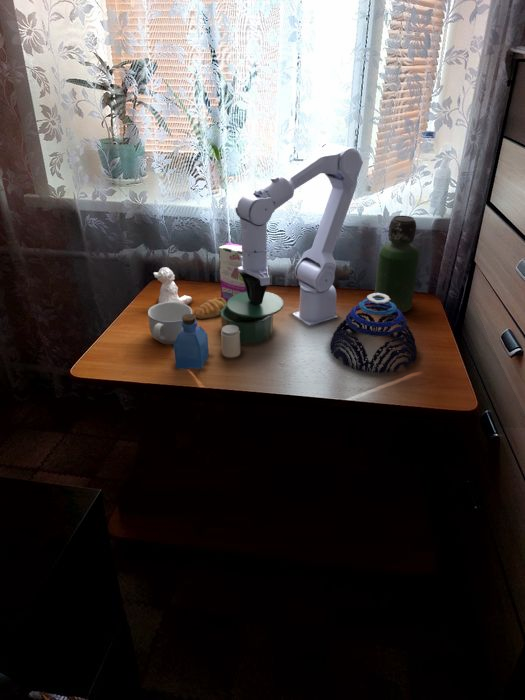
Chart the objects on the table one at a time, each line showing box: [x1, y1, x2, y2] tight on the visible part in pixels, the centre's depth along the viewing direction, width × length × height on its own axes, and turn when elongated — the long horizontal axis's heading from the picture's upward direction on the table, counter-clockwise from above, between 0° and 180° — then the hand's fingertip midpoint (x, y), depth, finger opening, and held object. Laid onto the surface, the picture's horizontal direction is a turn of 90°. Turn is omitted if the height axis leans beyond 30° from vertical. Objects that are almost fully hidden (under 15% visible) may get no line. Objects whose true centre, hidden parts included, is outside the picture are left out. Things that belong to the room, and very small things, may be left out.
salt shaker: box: [220, 325, 241, 358], centre depth 127 cm, size 4×4×7 cm
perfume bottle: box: [173, 313, 210, 371], centre depth 123 cm, size 6×6×12 cm
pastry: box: [193, 296, 227, 320], centre depth 146 cm, size 9×7×4 cm
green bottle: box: [373, 215, 420, 314], centre depth 144 cm, size 10×10×25 cm
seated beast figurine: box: [153, 266, 193, 306], centre depth 148 cm, size 10×9×12 cm
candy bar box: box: [218, 242, 247, 303], centre depth 149 cm, size 11×5×16 cm, turn 58°
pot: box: [220, 305, 274, 344], centre depth 137 cm, size 13×13×6 cm
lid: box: [226, 291, 284, 318], centre depth 131 cm, size 14×14×6 cm
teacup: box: [147, 302, 193, 345], centre depth 133 cm, size 14×11×8 cm
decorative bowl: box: [329, 292, 418, 374], centre depth 126 cm, size 20×20×14 cm
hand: (255, 301), depth 131 cm, fingers closed on lid, 2 cm apart
